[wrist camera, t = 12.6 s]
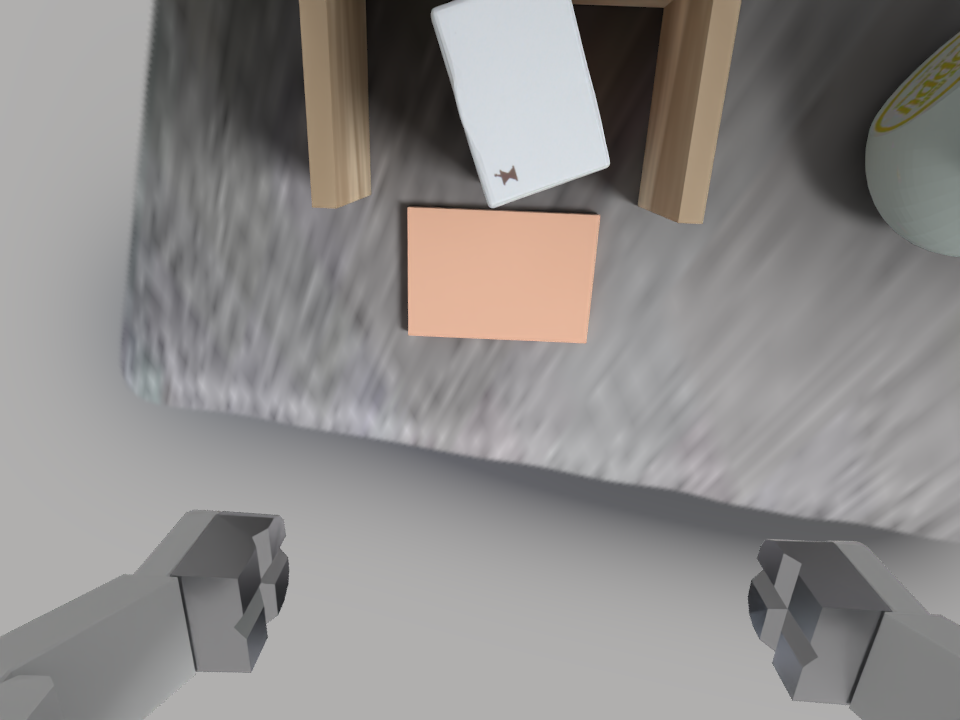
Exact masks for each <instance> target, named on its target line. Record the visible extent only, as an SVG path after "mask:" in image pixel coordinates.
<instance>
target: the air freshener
mask: <svg viewBox="0 0 960 720" xmlns="http://www.w3.org/2000/svg"><path fill="white" fill-rule="evenodd" d="M865 171H866V177H867V184H868V188H869V191H870V194H871V197H872V199H873V202H874V205H875V206H876V208H877V209H878V211H879V213H880V214H881V216H882V218H883V219H884V220H885V221H886V222H887V224H888V225H889V226H890V227H891V228H892V229H893V230H894V231H895V232H896V233H897V234H899V235H900V236H902V237H903V238H905V239H906V240H907V241H909V242H910V243H912V244H914V245H916V246H919V247H921V248H923V249H926V250H928V251H930V252H934V253H939V254H943V255H948V256H953V257H960V32H959V33H957V34H956V35H955V36H954V37H952V38H951V39H950V40H949V41H947V42H946V43H945V44H944V45H943V46H941V47H940V48H939V49H938V50H937V51H936V52H935V53H933V54H932V55H931V56H930V57H929V58H928V59H927V60H926V61H924V62H923V63H922V64H921V65H920V66H919V67H918V68H917V69H916V70H915V71H914V72H913V73H912V74H911V75H910V76H909V77H908V78H907V79H906V80H905V81H904V82H903V83H902V84H901V85H900V86H899V87H898V89H897V90H896V91H895V92H894V93H893V94H892V95H891V97H890V98H889V99H888V100H887V101H886V103H885V104H884V105H883V107H882V108H881V109H880V111H879V112H878V113H877V115H876V117H875V118H874V120H873V122H872V124H871V127H870V130H869V134H868V140H867V145H866V154H865Z"/></svg>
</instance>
